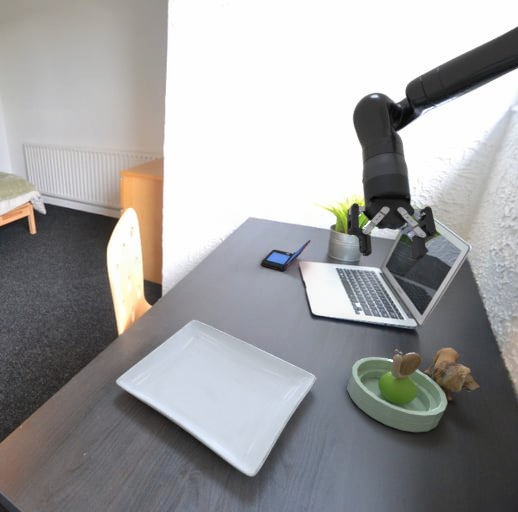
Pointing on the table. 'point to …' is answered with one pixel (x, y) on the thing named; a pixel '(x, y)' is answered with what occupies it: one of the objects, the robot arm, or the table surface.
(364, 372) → the dish
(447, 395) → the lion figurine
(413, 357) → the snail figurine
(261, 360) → the square plate
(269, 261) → the handheld console
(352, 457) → the table surface
